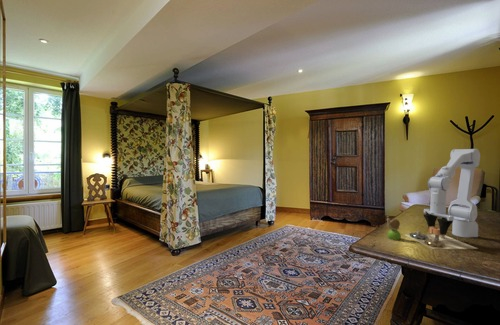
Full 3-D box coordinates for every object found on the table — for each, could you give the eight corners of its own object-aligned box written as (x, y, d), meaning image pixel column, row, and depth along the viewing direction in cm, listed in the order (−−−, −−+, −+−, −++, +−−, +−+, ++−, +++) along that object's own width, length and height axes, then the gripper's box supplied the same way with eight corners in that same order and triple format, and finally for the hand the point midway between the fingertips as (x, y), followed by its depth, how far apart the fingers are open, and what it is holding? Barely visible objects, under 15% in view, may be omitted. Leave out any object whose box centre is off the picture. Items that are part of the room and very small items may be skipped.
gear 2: (435, 241, 109) (435, 238, 109) (448, 247, 102) (449, 244, 102) (420, 241, 108) (420, 238, 108) (432, 247, 101) (432, 244, 101)
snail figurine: (382, 239, 115) (383, 214, 115) (395, 238, 116) (395, 214, 115) (390, 243, 110) (390, 217, 109) (403, 242, 110) (404, 217, 110)
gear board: (443, 236, 119) (443, 226, 119) (478, 251, 101) (478, 239, 101) (403, 236, 118) (404, 226, 118) (432, 251, 100) (432, 239, 100)
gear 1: (420, 234, 118) (420, 232, 118) (431, 239, 111) (431, 237, 111) (406, 234, 118) (406, 232, 118) (416, 239, 111) (416, 237, 111)
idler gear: (438, 231, 113) (438, 226, 113) (449, 235, 107) (449, 230, 107) (425, 231, 113) (425, 226, 113) (435, 235, 107) (436, 230, 107)
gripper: (418, 199, 117) (417, 227, 117) (442, 206, 102) (441, 237, 102) (432, 200, 117) (431, 227, 117) (458, 206, 102) (457, 237, 103)
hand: (437, 232), depth 110 cm, fingers closed on idler gear, 6 cm apart
